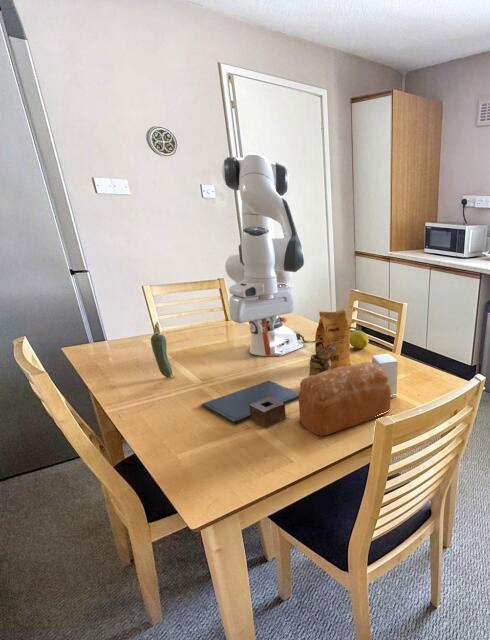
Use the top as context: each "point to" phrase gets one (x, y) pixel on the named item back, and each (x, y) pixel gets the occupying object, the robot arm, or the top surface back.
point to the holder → (267, 411)
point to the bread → (343, 397)
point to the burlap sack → (321, 360)
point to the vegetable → (161, 352)
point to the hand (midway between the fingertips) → (266, 331)
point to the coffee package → (334, 336)
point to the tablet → (248, 400)
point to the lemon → (358, 339)
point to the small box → (388, 370)
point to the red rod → (266, 337)
